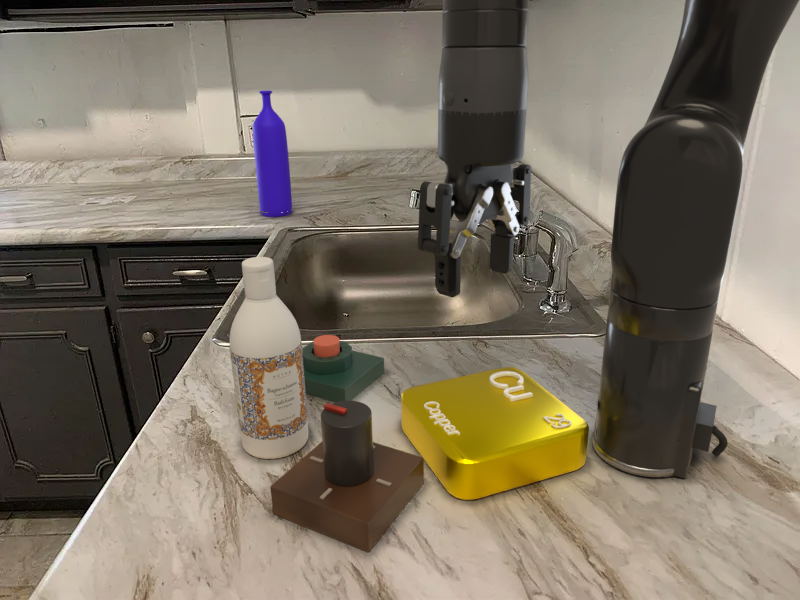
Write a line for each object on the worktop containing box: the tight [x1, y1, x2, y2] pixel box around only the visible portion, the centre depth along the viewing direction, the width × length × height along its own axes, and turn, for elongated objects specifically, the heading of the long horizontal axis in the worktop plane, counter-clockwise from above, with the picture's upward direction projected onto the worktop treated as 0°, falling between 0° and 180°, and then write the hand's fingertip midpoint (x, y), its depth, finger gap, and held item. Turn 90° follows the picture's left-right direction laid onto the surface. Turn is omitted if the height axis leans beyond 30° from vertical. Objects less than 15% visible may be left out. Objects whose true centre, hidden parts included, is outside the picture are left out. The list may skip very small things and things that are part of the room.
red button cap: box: [312, 334, 341, 357], centre depth 78 cm, size 3×3×2 cm
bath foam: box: [229, 256, 310, 460], centre depth 63 cm, size 7×7×20 cm
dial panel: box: [269, 441, 425, 553], centre depth 57 cm, size 10×10×3 cm
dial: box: [320, 400, 374, 486], centre depth 56 cm, size 4×4×6 cm
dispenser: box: [302, 340, 385, 403], centre depth 79 cm, size 11×9×4 cm
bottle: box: [252, 90, 293, 218], centre depth 157 cm, size 8×8×30 cm
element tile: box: [400, 366, 590, 501], centre depth 65 cm, size 15×15×5 cm
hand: (475, 282), depth 60 cm, fingers open, 8 cm apart
